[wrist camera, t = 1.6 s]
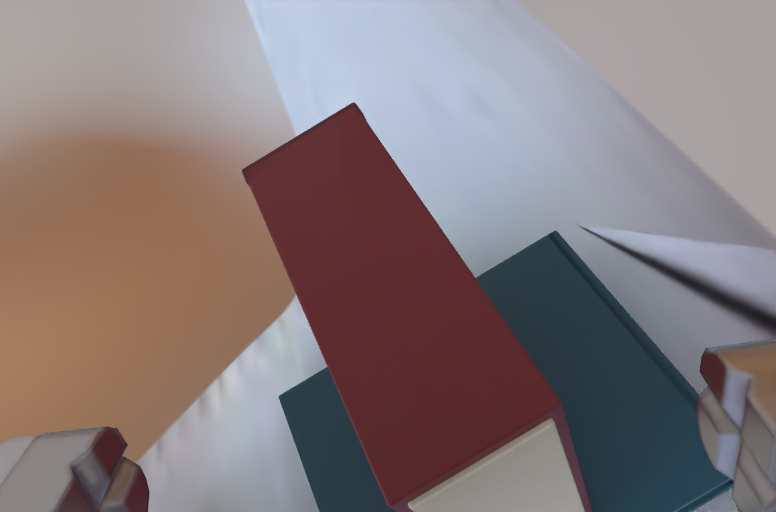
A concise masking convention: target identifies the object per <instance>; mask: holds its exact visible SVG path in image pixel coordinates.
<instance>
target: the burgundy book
mask: <svg viewBox="0 0 776 512" xmlns="http://www.w3.org/2000/svg"><path fill="white" fill-rule="evenodd" d="M242 173H243V175H244V178H245V180H246V183H247V184H248V185H249V187H250V188H251V190H252V193H253V195H254V197H255V199H256V202H257V204H258V207H259V209H260V211H261V213H262V216H263V218H264V220H265V223H266V225H267V227H268V230H269V232H270V234H271V237H272V239H273V241H274V243H275V246H276V248H277V250H278V253H279V255H280V257H281V260H282V262H283V264H284V267H285V269H286V271H287V274H288V276H289V278H290V281H291V283H292V285H293V288H294V290H295V292H296V295H297V297H298V299H299V302H300V304H301V306H302V308H303V311H304V313H305V315H306V318H307V320H308V322H309V325H310V327H311V329H312V332H313V334H314V336H315V339H316V341H317V343H318V346H319V348H320V350H321V353H322V355H323V357H324V359H325V362H326V364H327V366H328V369H329V371H330V373H331V376H332V378H333V380H334V383H335V385H336V387H337V390H338V392H339V394H340V397H341V399H342V401H343V403H344V406H345V408H346V410H347V413H348V415H349V417H350V420H351V422H352V424H353V427H354V429H355V431H356V434H357V436H358V438H359V441H360V443H361V445H362V447H363V450H364V452H365V454H366V457H367V459H368V461H369V464H370V466H371V468H372V471H373V473H374V475H375V478H376V480H377V482H378V485H379V487H380V489H381V492H382V494H383V496H384V498H385V501H386V503H387V505H388V506H389V507H390V508H392V509H394V510H396V511H397V512H593V511H592V508H591V504H590V501H589V497H588V494H587V490H586V487H585V483H584V480H583V476H582V473H581V469H580V466H579V462H578V459H577V455H576V452H575V448H574V445H573V442H572V438H571V435H570V431H569V428H568V424H567V421H566V417H565V414H564V410H563V407H562V403H561V401H560V399H559V398H558V396H557V395H556V394H555V392H554V391H553V389H552V388H551V386H550V385H549V383H548V382H547V381H546V379H545V378H544V376H543V375H542V373H541V372H540V370H539V369H538V368H537V366H536V365H535V363H534V362H533V360H532V359H531V358H530V356H529V355H528V353H527V352H526V350H525V349H524V347H523V346H522V345H521V343H520V342H519V340H518V339H517V337H516V336H515V335H514V333H513V332H512V330H511V329H510V327H509V326H508V324H507V323H506V322H505V320H504V319H503V317H502V316H501V314H500V313H499V311H498V310H497V309H496V307H495V306H494V304H493V303H492V301H491V300H490V299H489V297H488V296H487V294H486V293H485V291H484V290H483V288H482V287H481V286H480V284H479V283H478V281H477V280H476V278H475V277H474V276H473V274H472V273H471V271H470V270H469V268H468V267H467V265H466V264H465V263H464V261H463V260H462V258H461V257H460V255H459V254H458V252H457V251H456V250H455V248H454V247H453V245H452V244H451V242H450V241H449V240H448V238H447V237H446V235H445V234H444V232H443V231H442V229H441V228H440V227H439V225H438V224H437V222H436V221H435V219H434V218H433V216H432V215H431V214H430V212H429V211H428V209H427V208H426V206H425V205H424V204H423V202H422V201H421V199H420V198H419V196H418V195H417V193H416V192H415V191H414V189H413V188H412V186H411V185H410V183H409V182H408V181H407V179H406V178H405V176H404V175H403V173H402V172H401V170H400V169H399V168H398V166H397V165H396V163H395V162H394V160H393V159H392V157H391V156H390V155H389V153H388V152H387V150H386V149H385V147H384V146H383V145H382V143H381V142H380V140H379V139H378V137H377V136H376V134H375V133H374V132H373V130H372V129H371V127H370V126H369V124H368V123H367V121H366V119H365V117H364V115H363V113H362V112H361V110H360V109H359V107H358V106H357V104H356V103H351V104H350V105H348V106H346V107H345V108H343V109H341V110H340V111H338V112H336V113H335V114H333V115H331V116H330V117H328V118H327V119H325V120H323V121H322V122H320V123H318V124H317V125H315V126H313V127H312V128H310V129H308V130H307V131H305V132H303V133H302V134H300V135H298V136H297V137H295V138H294V139H292V140H290V141H289V142H287V143H285V144H284V145H282V146H280V147H279V148H277V149H275V150H274V151H272V152H270V153H269V154H267V155H265V156H264V157H262V158H261V159H259V160H257V161H255V162H254V163H252V164H250V165H249V166H247V167H246V168H244V169H243V170H242Z"/></svg>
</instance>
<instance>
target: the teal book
mask: <svg viewBox="0 0 776 512" xmlns="http://www.w3.org/2000/svg"><path fill="white" fill-rule="evenodd" d="M476 280H477V281H478V283H479V284H480V286H481V287H482V288H483V290H484V291H485V293H486V294H487V296H488V297H489V299H490V300H491V301H492V303H493V304H494V306H495V307H496V309H497V310H498V311H499V313H500V314H501V316H502V317H503V319H504V320H505V322H506V323H507V324H508V326H509V327H510V329H511V330H512V332H513V333H514V335H515V336H516V337H517V339H518V340H519V342H520V343H521V345H522V346H523V347H524V349H525V350H526V352H527V353H528V355H529V356H530V358H531V359H532V360H533V362H534V363H535V365H536V366H537V368H538V369H539V370H540V372H541V373H542V375H543V376H544V378H545V379H546V381H547V382H548V383H549V385H550V386H551V388H552V389H553V391H554V392H555V394H556V395H557V396H558V398H559V399H560V401H561V403H562V407H563V410H564V414H565V417H566V421H567V424H568V428H569V431H570V435H571V438H572V442H573V445H574V448H575V452H576V455H577V459H578V462H579V466H580V469H581V473H582V476H583V480H584V483H585V487H586V490H587V494H588V497H589V501H590V504H591V508H592V511H593V512H692V511H694V510H695V509H697V508H699V507H700V506H702V505H704V504H705V503H707V502H709V501H710V500H712V499H714V498H716V497H717V496H719V495H721V494H722V493H724V492H726V491H727V490H729V489H731V488H732V487H733V485H734V480H732V479H731V478H729V477H727V476H726V475H724V474H723V473H721V472H719V471H718V470H716V469H715V468H714V466H713V464H712V462H711V460H710V458H709V457H708V455H707V453H706V450H705V448H704V445H703V443H702V440H701V437H700V433H699V427H698V422H697V417H696V416H697V397H698V396H699V394H698V393H697V392H696V391H695V390H694V389H693V387H692V386H691V385H690V384H689V383H688V382H687V381H686V379H685V378H684V377H683V376H682V375H681V374H680V373H679V371H678V370H677V369H676V368H675V367H674V366H673V364H672V363H671V362H670V361H669V360H668V359H667V358H666V356H665V355H664V354H663V353H662V352H661V351H660V349H659V348H658V347H657V346H656V345H655V344H654V343H653V341H652V340H651V339H650V338H649V337H648V336H647V334H646V333H645V332H644V331H643V330H642V329H641V328H640V326H639V325H638V324H637V323H636V322H635V321H634V320H633V318H632V317H631V316H630V315H629V314H628V313H627V311H626V310H625V309H624V308H623V307H622V306H621V305H620V303H619V302H618V301H617V300H616V299H615V298H614V296H613V295H612V294H611V293H610V292H609V291H608V290H607V288H606V287H605V286H604V285H603V284H602V283H601V281H600V280H599V279H598V278H597V277H596V276H595V275H594V273H593V272H592V271H591V270H590V269H589V268H588V266H587V265H586V264H585V263H584V262H583V261H582V260H581V258H580V257H579V256H578V255H577V254H576V253H575V252H574V250H573V249H572V248H571V247H570V246H569V245H568V243H567V242H566V241H565V240H564V239H563V238H562V237H561V235H560V234H559V233H558V232H557V231H554V232H552V233H550V234H548V235H547V236H545V237H543V238H542V239H540V240H538V241H537V242H535V243H533V244H532V245H530V246H528V247H527V248H525V249H523V250H522V251H520V252H518V253H517V254H515V255H513V256H512V257H510V258H508V259H507V260H505V261H503V262H502V263H500V264H498V265H497V266H495V267H493V268H492V269H490V270H488V271H487V272H485V273H483V274H482V275H480V276H478V277H477V278H476ZM279 399H280V402H281V405H282V408H283V410H284V413H285V416H286V419H287V422H288V425H289V427H290V430H291V433H292V436H293V439H294V441H295V444H296V447H297V450H298V453H299V455H300V458H301V461H302V464H303V467H304V469H305V472H306V475H307V478H308V481H309V483H310V486H311V489H312V492H313V495H314V497H315V500H316V503H317V506H318V509H319V511H320V512H397V511H396V510H394V509H392V508H390V507H389V506H388V505H387V503H386V501H385V498H384V496H383V494H382V492H381V489H380V487H379V485H378V482H377V480H376V478H375V475H374V473H373V471H372V468H371V466H370V464H369V461H368V459H367V457H366V454H365V452H364V450H363V447H362V445H361V443H360V441H359V438H358V436H357V434H356V431H355V429H354V427H353V424H352V422H351V420H350V417H349V415H348V413H347V410H346V408H345V406H344V403H343V401H342V399H341V397H340V394H339V392H338V390H337V387H336V385H335V383H334V380H333V378H332V376H331V373H330V371H329V369H328V367H327V368H325V369H323V370H322V371H320V372H318V373H317V374H315V375H313V376H312V377H310V378H308V379H307V380H305V381H303V382H302V383H300V384H298V385H297V386H295V387H293V388H292V389H290V390H288V391H287V392H285V393H283V394H282V395H280V396H279Z"/></svg>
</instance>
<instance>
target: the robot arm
mask: <svg viewBox="0 0 776 512" xmlns="http://www.w3.org/2000/svg"><path fill="white" fill-rule="evenodd" d="M700 373H701V375H702V376H703V378H704V380H705V381H706V383H707V384H708V387H707V388H706V389H705V390H704V391H703V392H702V393H701V394H700V395H699V396H698V397H697V416H696V417H697V422H698V427H699V433H700V437H701V440H702V443H703V445H704V448H705V450H706V453H707V455H708V457H709V458H710V460H711V462H712V464H713V466H714V468H715V469H716V470H718V471H719V472H721V473H723V474H724V475H726V476H727V477H729V478H731V479H732V480H734V485H733V493H732V500H733V501H734V503H735V505H736V507H737V508H738V510H739V512H776V339H769V340H762V341H755V342H747V343H740V344H733V345H726V346H718V347H711V348H706V349H705V351H704V353H703V355H702V357H701V365H700ZM126 448H127V443H126V441H125V440H124V438H123V437H122V435H121V433H120V432H119V430H118V429H117V428H111V427H99V428H89V429H80V430H70V431H61V432H52V433H44V434H42V435H30V436H20V437H13V438H11V439H9V440H7V441H5V442H3V443H2V444H0V512H148V503H149V489H148V484H147V480H146V477H145V475H144V473H143V471H142V469H141V468H140V466H139V465H137V464H136V463H134V462H132V461H131V460H129V459H127V458H126V457H124V454H125V451H126Z"/></svg>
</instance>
